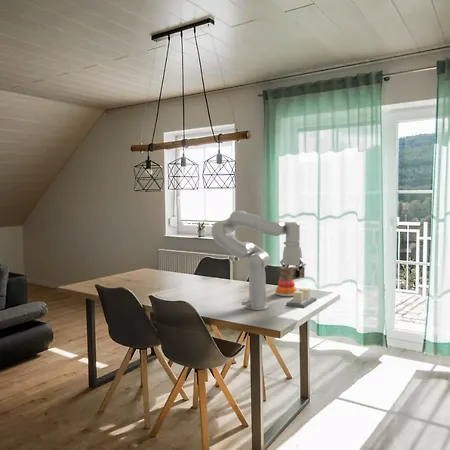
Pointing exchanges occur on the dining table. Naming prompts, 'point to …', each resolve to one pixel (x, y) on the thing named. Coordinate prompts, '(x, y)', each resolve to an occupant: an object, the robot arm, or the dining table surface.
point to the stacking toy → (285, 288)
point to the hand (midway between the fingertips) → (292, 276)
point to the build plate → (301, 298)
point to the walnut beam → (290, 273)
